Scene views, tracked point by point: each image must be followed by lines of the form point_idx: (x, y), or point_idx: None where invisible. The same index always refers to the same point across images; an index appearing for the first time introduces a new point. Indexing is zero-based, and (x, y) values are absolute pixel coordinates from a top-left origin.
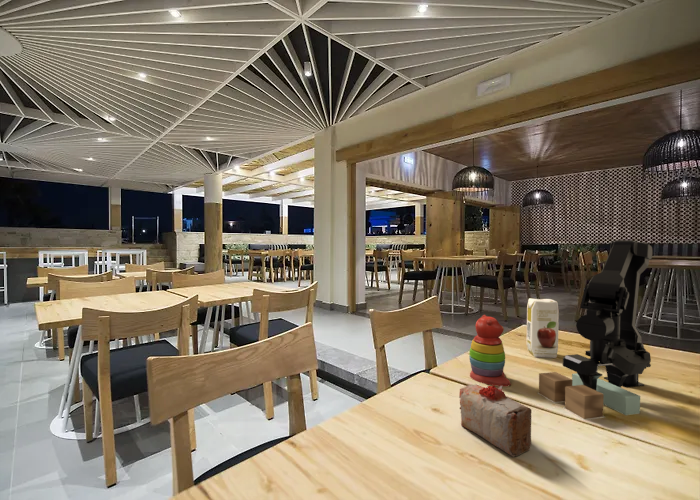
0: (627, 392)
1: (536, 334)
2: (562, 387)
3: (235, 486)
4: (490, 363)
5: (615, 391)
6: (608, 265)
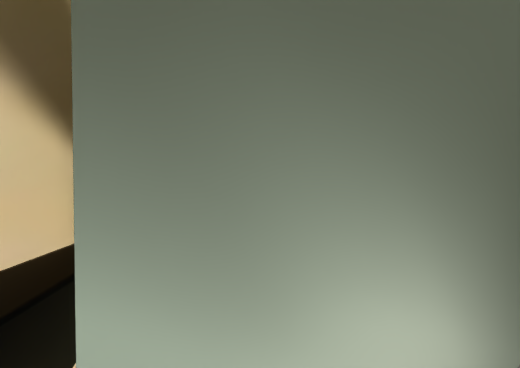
0: (208, 42)
1: None
2: None
3: None
4: None
5: (471, 245)
6: None
